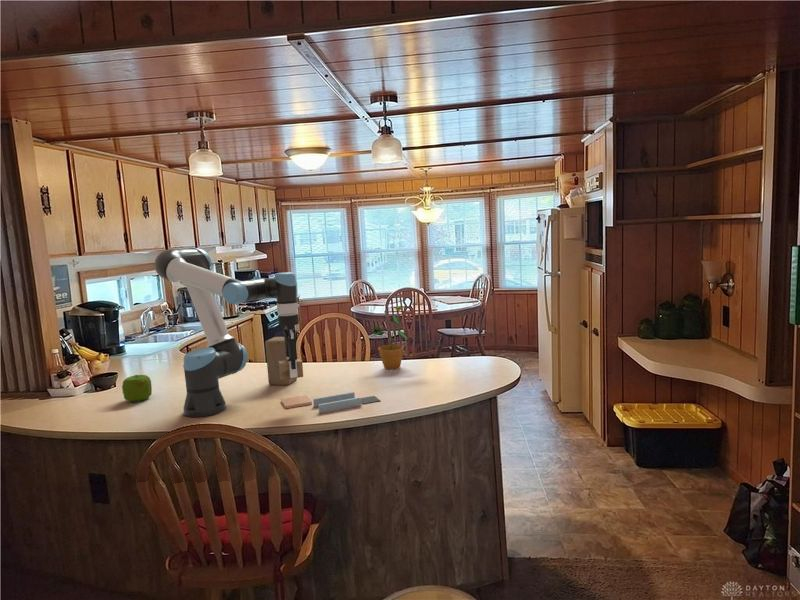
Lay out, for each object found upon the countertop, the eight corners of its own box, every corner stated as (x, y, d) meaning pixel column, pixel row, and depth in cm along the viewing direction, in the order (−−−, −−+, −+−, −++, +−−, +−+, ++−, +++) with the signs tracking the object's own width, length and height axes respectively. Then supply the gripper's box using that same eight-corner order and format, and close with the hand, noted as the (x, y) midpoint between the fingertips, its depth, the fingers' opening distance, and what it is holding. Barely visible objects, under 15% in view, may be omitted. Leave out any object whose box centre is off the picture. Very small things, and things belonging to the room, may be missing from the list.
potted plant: (417, 364, 256) (414, 303, 252) (398, 374, 240) (394, 308, 236) (386, 361, 265) (383, 302, 261) (365, 370, 249) (361, 307, 245)
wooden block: (289, 385, 231) (285, 340, 228) (267, 385, 233) (264, 340, 231) (298, 379, 241) (294, 336, 238) (277, 379, 243) (274, 336, 240)
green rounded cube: (126, 398, 225) (122, 373, 224) (153, 394, 229) (150, 369, 228) (122, 405, 215) (119, 379, 214) (151, 401, 219) (148, 375, 217)
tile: (285, 408, 199) (285, 406, 199) (281, 401, 208) (280, 399, 208) (311, 404, 203) (311, 401, 203) (306, 397, 212) (306, 394, 212)
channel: (319, 413, 192) (319, 405, 192) (313, 406, 200) (313, 398, 200) (361, 405, 198) (360, 397, 198) (354, 399, 206) (353, 391, 206)
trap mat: (363, 404, 199) (363, 403, 199) (357, 399, 206) (357, 398, 206) (380, 401, 202) (380, 400, 202) (374, 396, 208) (374, 395, 208)
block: (281, 379, 195) (280, 364, 194) (279, 376, 199) (278, 361, 199) (303, 376, 197) (302, 361, 197) (300, 373, 202) (299, 358, 201)
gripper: (302, 316, 188) (306, 379, 191) (294, 310, 205) (298, 368, 208) (281, 318, 186) (286, 382, 189) (274, 312, 203) (279, 371, 206)
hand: (292, 375), depth 199 cm, fingers closed on block, 5 cm apart
